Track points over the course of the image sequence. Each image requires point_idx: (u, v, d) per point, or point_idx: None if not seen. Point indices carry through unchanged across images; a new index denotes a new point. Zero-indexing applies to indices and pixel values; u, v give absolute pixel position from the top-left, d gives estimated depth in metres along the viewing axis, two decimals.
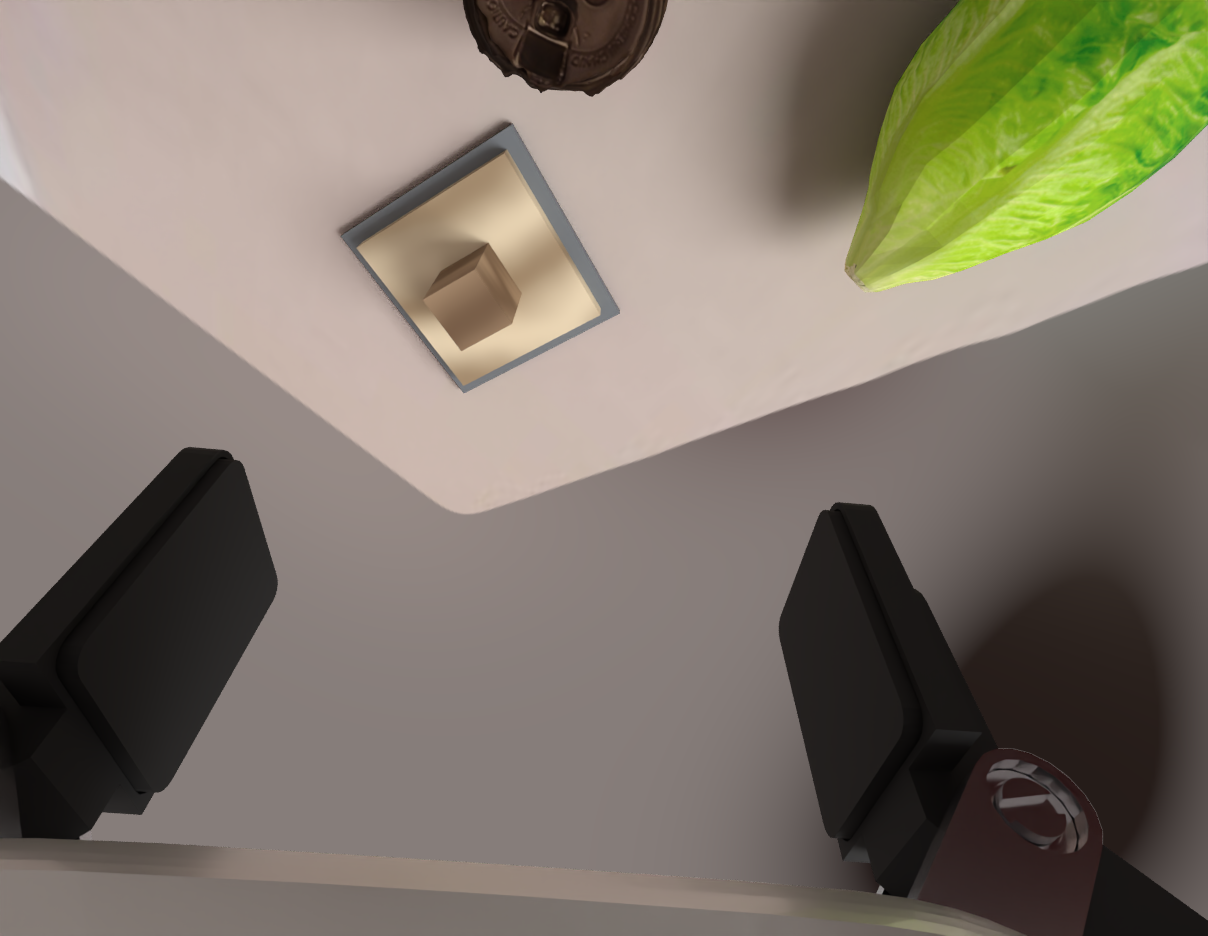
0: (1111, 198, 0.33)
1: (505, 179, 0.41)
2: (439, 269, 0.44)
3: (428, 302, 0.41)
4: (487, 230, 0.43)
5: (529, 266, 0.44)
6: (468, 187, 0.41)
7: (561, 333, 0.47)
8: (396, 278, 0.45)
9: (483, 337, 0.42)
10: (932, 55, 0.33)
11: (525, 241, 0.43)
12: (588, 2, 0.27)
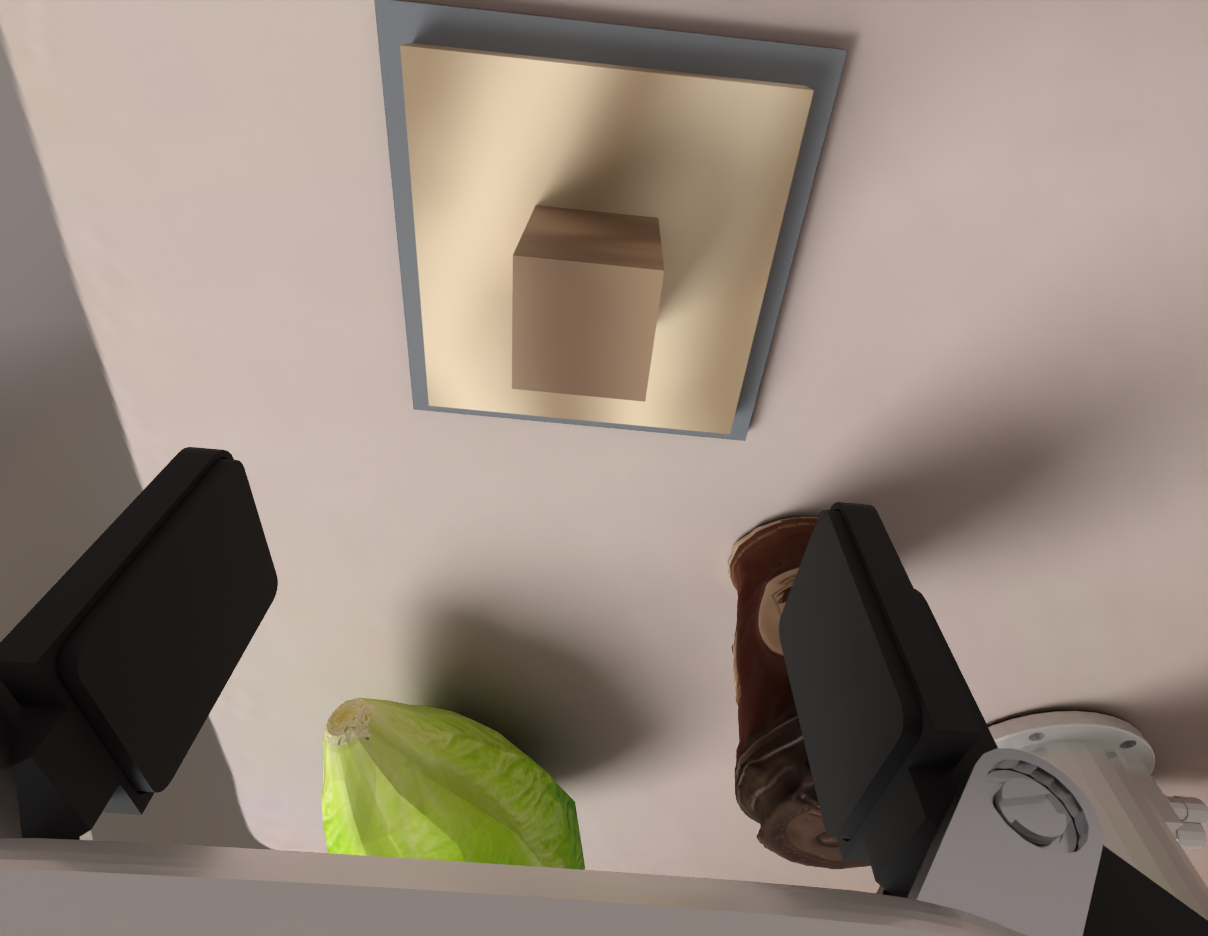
0: None
1: (701, 414, 0.26)
2: (662, 218, 0.21)
3: (651, 277, 0.17)
4: (660, 343, 0.24)
5: None
6: (732, 363, 0.24)
7: (426, 331, 0.24)
8: (707, 118, 0.20)
9: (516, 321, 0.18)
10: (542, 816, 0.35)
11: None
12: None
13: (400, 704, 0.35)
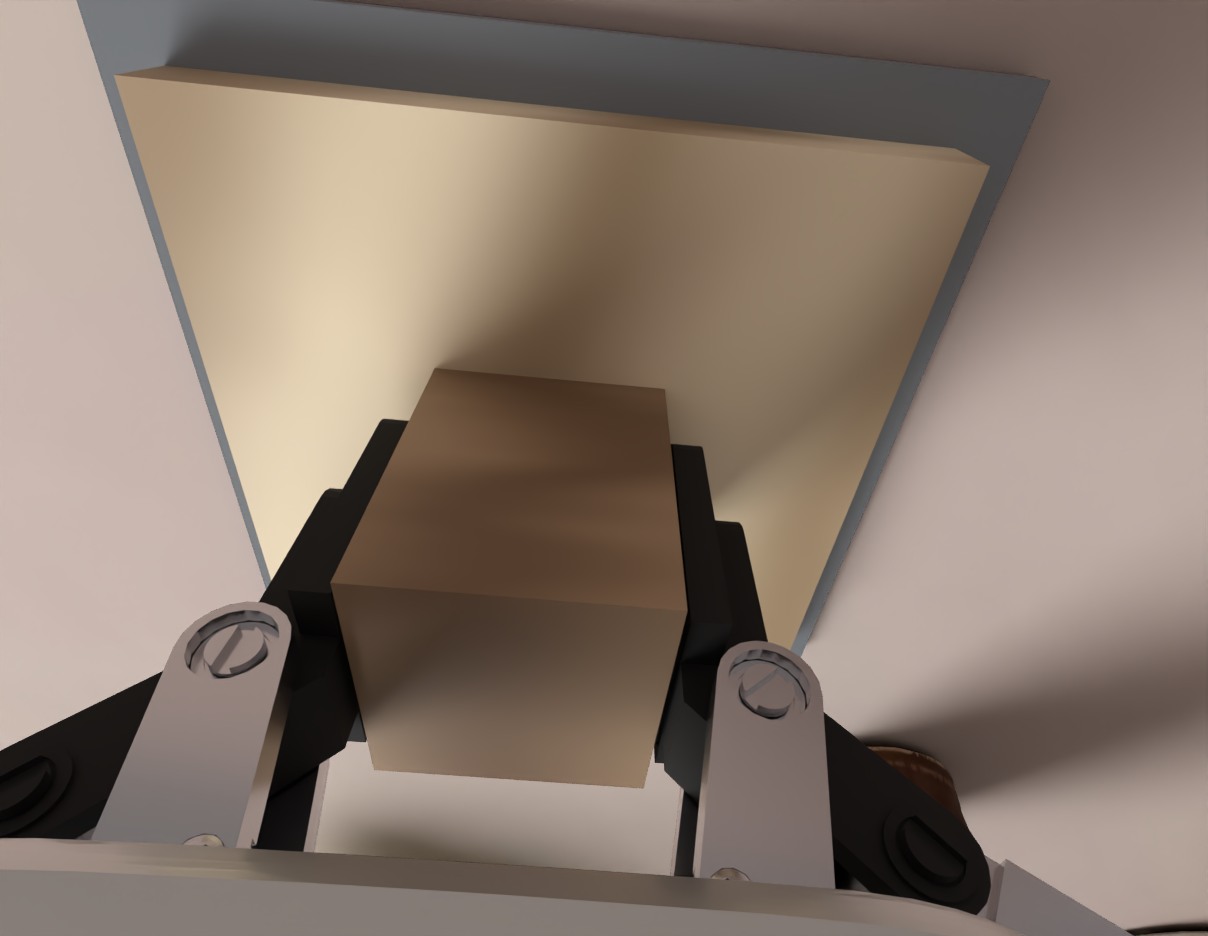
0: None
1: None
2: (672, 390, 0.11)
3: (657, 621, 0.07)
4: None
5: None
6: (788, 595, 0.14)
7: (267, 551, 0.14)
8: (766, 220, 0.10)
9: (362, 683, 0.08)
10: None
11: None
12: None
13: None
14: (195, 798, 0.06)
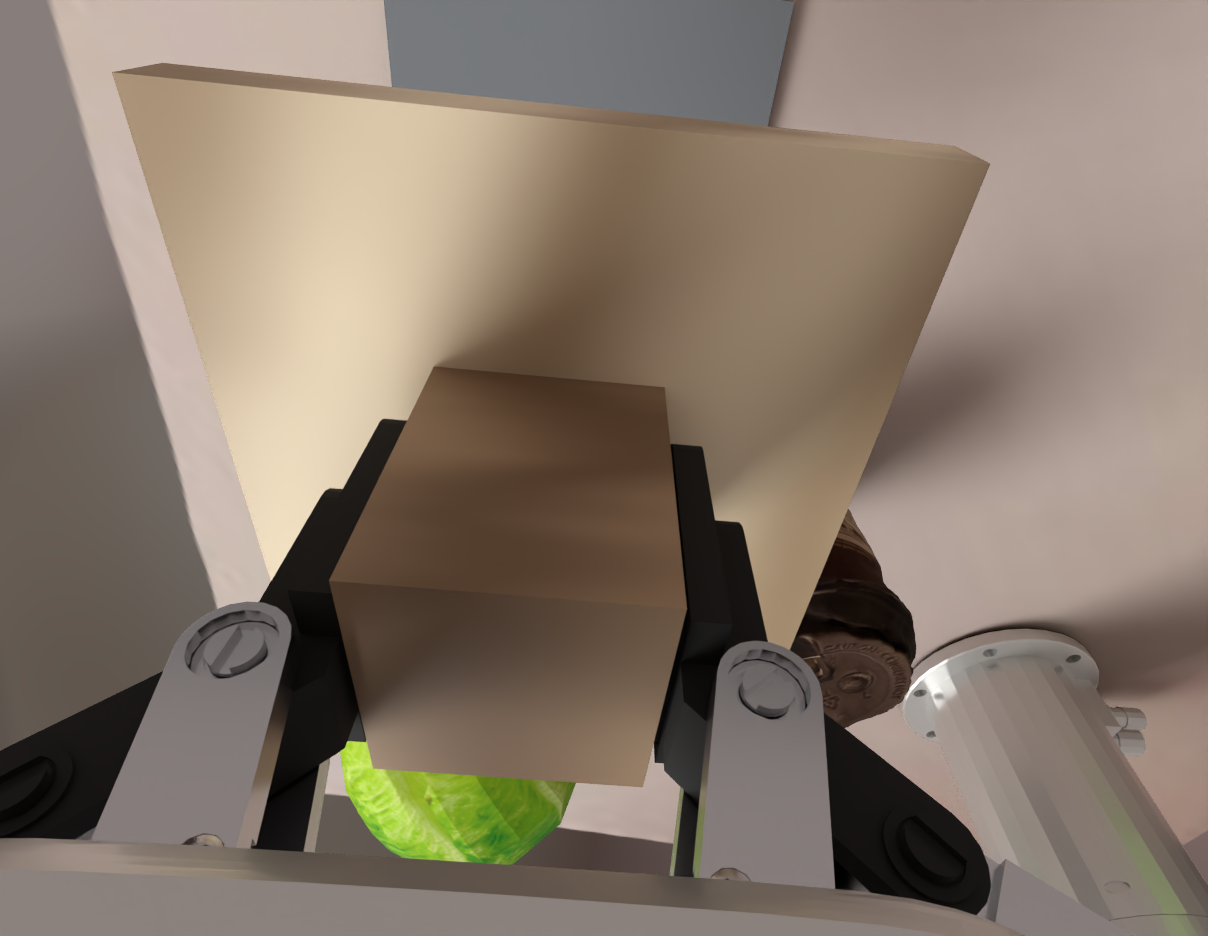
0: (365, 821, 0.38)
1: None
2: (671, 388, 0.11)
3: (657, 619, 0.07)
4: None
5: None
6: (788, 593, 0.14)
7: (267, 550, 0.14)
8: (765, 217, 0.10)
9: (361, 681, 0.08)
10: None
11: None
12: None
13: None
14: (195, 799, 0.06)
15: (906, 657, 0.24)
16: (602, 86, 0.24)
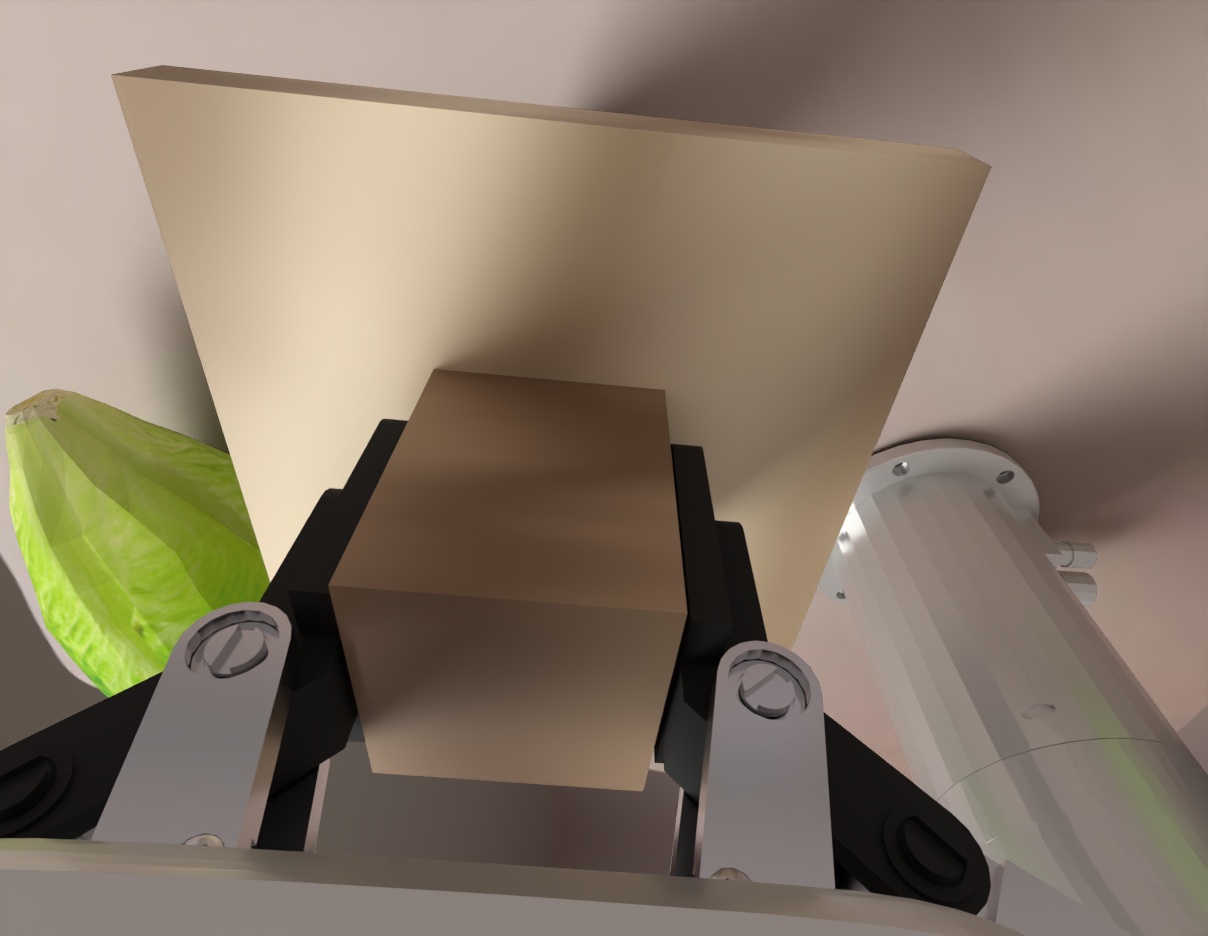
0: (87, 675, 0.30)
1: None
2: (672, 391, 0.11)
3: (657, 623, 0.07)
4: None
5: None
6: (788, 596, 0.14)
7: (266, 553, 0.14)
8: (766, 220, 0.10)
9: (360, 686, 0.08)
10: None
11: None
12: None
13: (129, 414, 0.29)
14: (195, 798, 0.06)
15: None
16: None
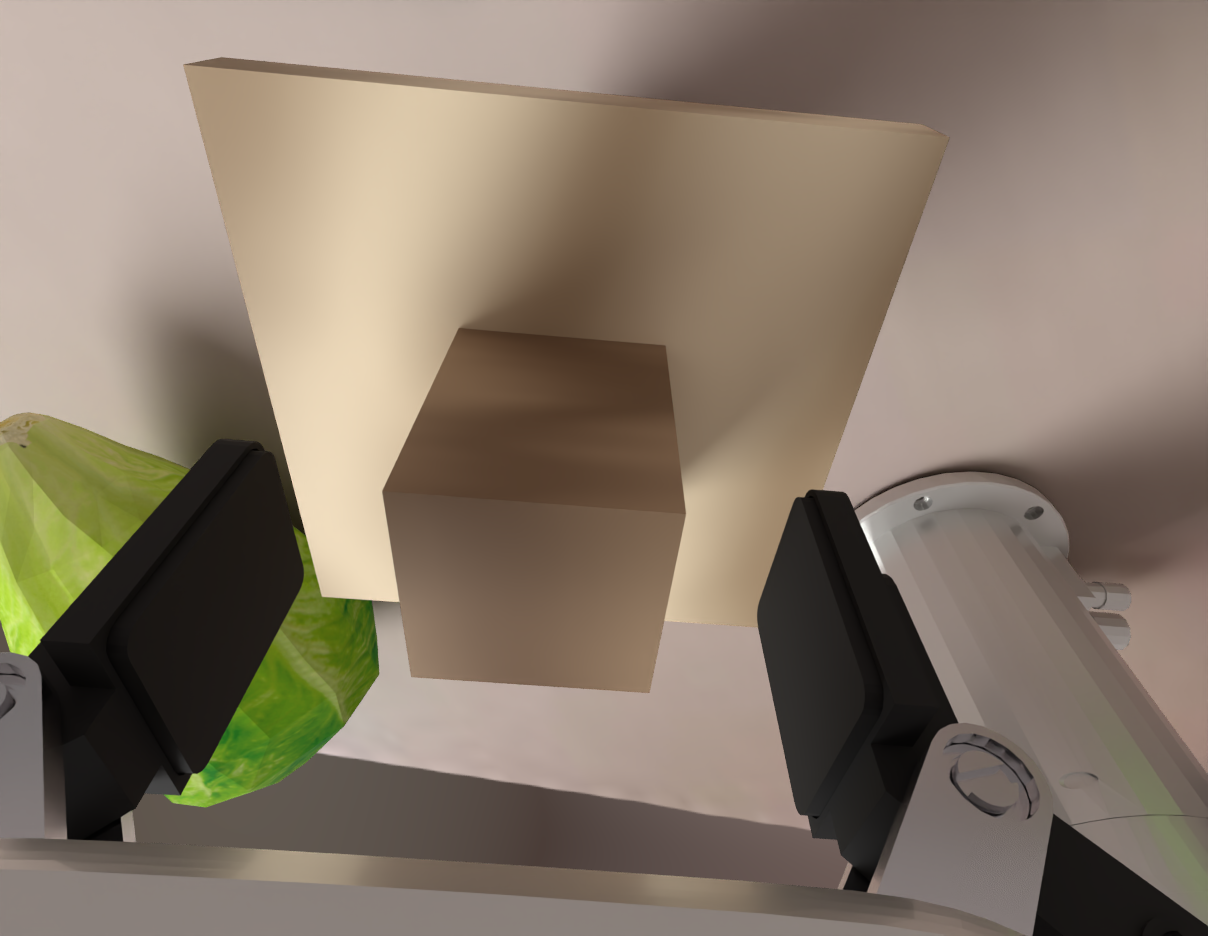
0: None
1: (730, 604, 0.17)
2: (672, 346, 0.13)
3: (660, 524, 0.09)
4: None
5: None
6: None
7: (303, 505, 0.15)
8: (753, 188, 0.11)
9: (404, 589, 0.10)
10: None
11: None
12: None
13: (107, 439, 0.27)
14: None
15: None
16: None
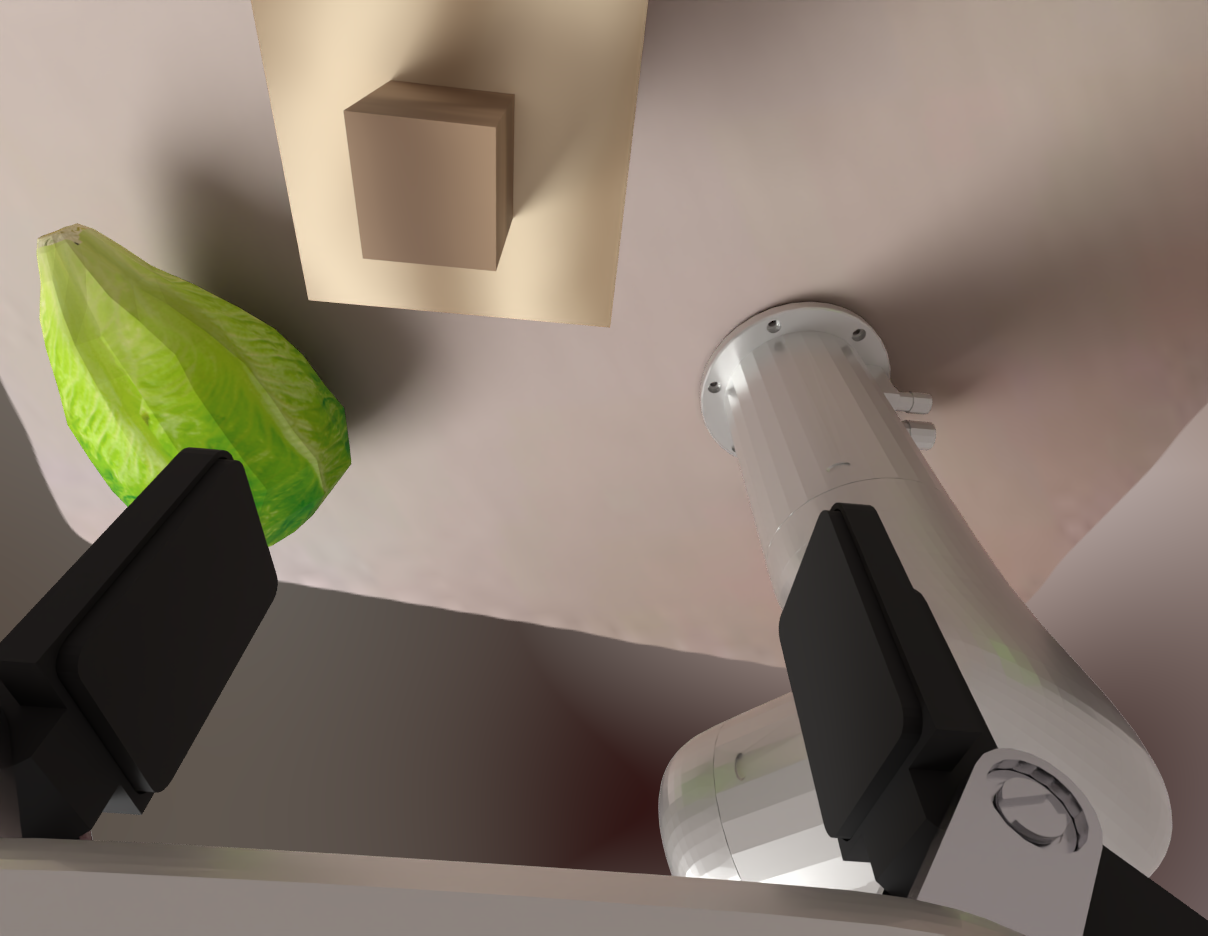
0: (100, 472, 0.36)
1: (580, 306, 0.26)
2: (518, 94, 0.21)
3: (484, 135, 0.18)
4: (531, 230, 0.24)
5: None
6: (604, 250, 0.25)
7: (296, 219, 0.24)
8: None
9: (356, 184, 0.18)
10: (283, 372, 0.37)
11: (483, 272, 0.25)
12: None
13: None
14: None
15: None
16: None
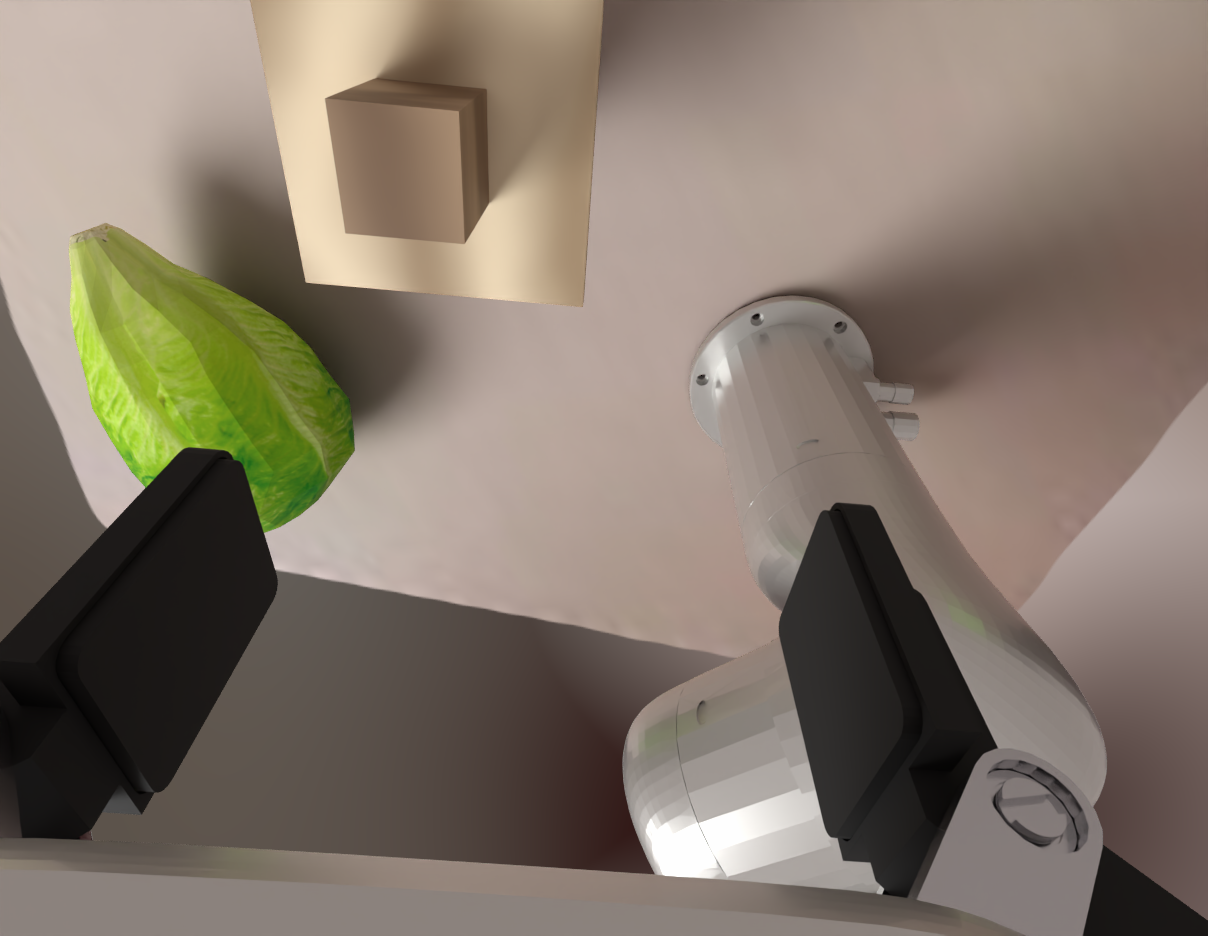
0: (121, 454, 0.39)
1: (554, 286, 0.28)
2: (490, 89, 0.24)
3: (448, 118, 0.20)
4: (506, 215, 0.26)
5: None
6: (574, 234, 0.27)
7: (293, 207, 0.26)
8: None
9: (338, 165, 0.21)
10: (290, 361, 0.39)
11: (463, 255, 0.27)
12: None
13: None
14: None
15: None
16: None
